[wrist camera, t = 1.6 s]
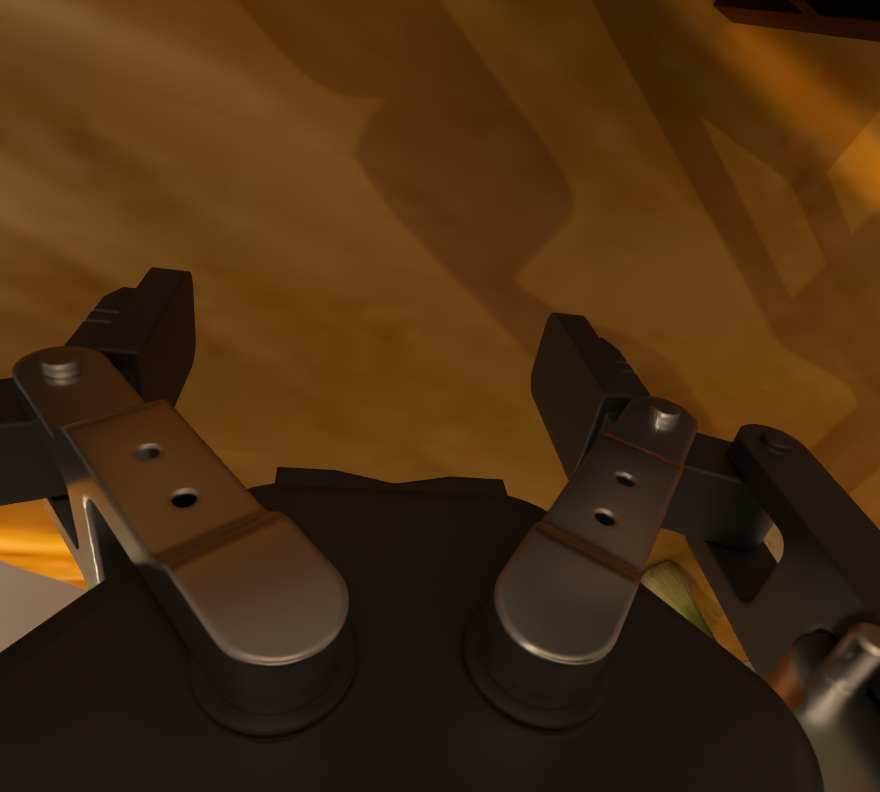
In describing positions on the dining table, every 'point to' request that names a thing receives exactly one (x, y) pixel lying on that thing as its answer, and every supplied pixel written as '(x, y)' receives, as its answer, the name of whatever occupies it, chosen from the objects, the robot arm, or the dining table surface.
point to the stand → (809, 16)
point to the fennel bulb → (675, 592)
